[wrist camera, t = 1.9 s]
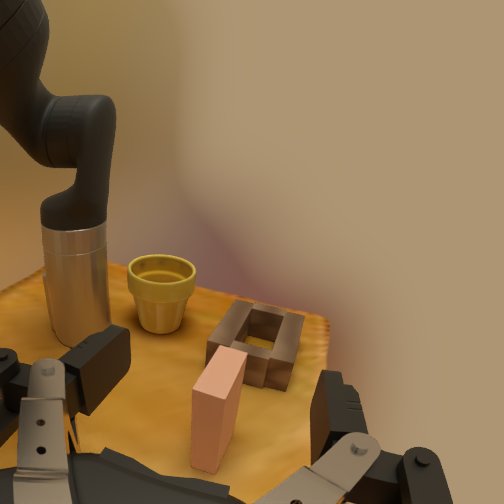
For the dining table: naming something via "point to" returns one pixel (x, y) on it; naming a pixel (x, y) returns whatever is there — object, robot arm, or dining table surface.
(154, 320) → the plant pot
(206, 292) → the dining table surface
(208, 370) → the tall pink pillar
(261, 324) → the walnut frame
